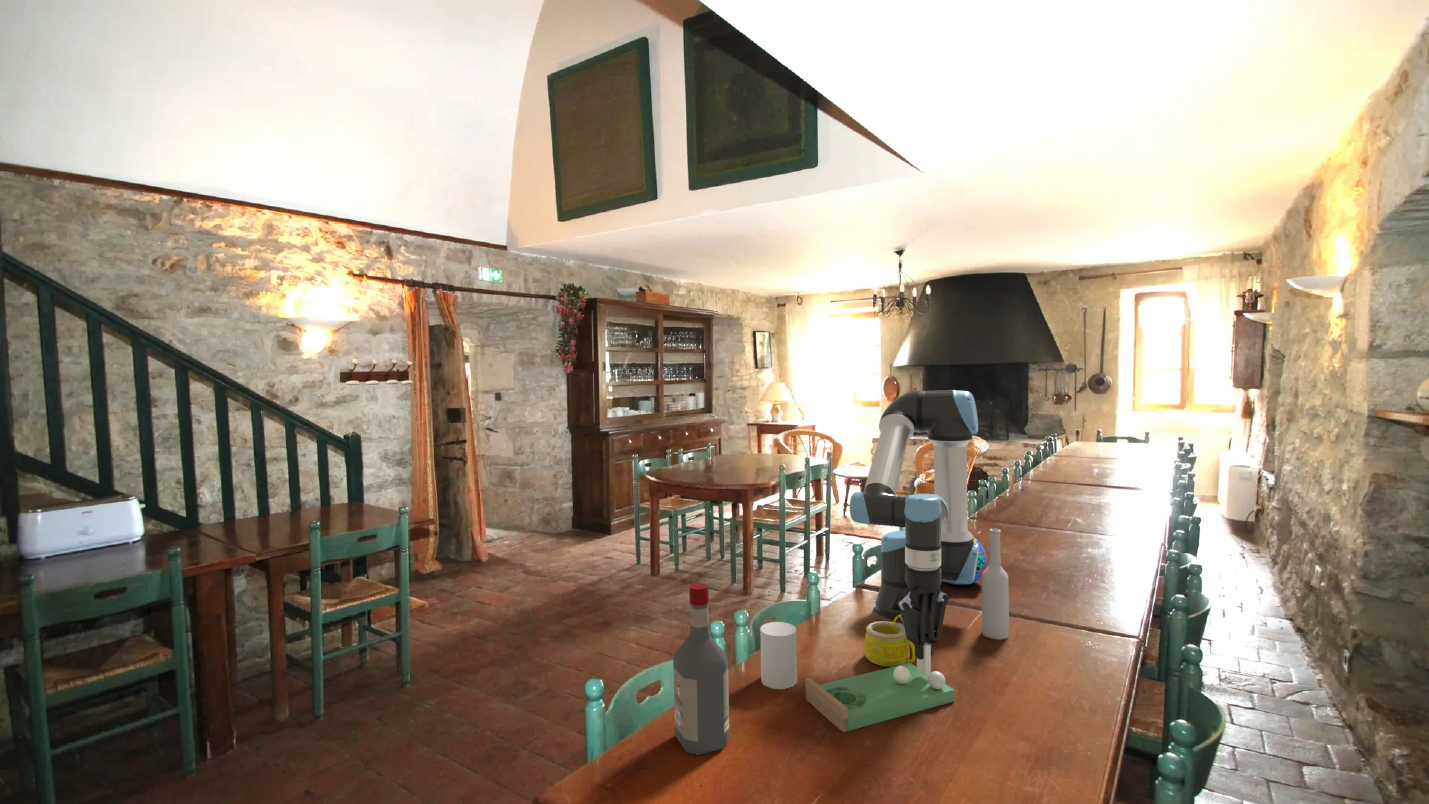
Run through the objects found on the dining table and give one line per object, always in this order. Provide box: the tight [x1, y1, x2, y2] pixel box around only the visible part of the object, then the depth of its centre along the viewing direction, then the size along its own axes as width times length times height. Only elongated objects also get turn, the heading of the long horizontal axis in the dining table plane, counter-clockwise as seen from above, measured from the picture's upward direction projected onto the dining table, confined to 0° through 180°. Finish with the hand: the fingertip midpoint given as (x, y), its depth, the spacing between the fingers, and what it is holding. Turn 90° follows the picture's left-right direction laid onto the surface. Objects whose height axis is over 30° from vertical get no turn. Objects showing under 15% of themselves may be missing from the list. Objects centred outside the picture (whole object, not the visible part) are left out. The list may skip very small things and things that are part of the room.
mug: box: [863, 614, 916, 668], centre depth 154 cm, size 13×11×12 cm
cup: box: [759, 621, 798, 690], centre depth 145 cm, size 8×8×12 cm
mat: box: [804, 662, 955, 733], centre depth 136 cm, size 14×28×4 cm, turn 113°
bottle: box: [981, 528, 1010, 640], centre depth 168 cm, size 7×7×28 cm
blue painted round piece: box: [947, 536, 988, 586], centre depth 210 cm, size 18×18×15 cm
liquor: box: [672, 582, 730, 756], centre depth 121 cm, size 9×9×30 cm
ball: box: [893, 666, 911, 684], centre depth 138 cm, size 4×4×4 cm
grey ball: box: [928, 670, 946, 689], centre depth 135 cm, size 4×4×4 cm
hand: (923, 671), depth 140 cm, fingers closed
